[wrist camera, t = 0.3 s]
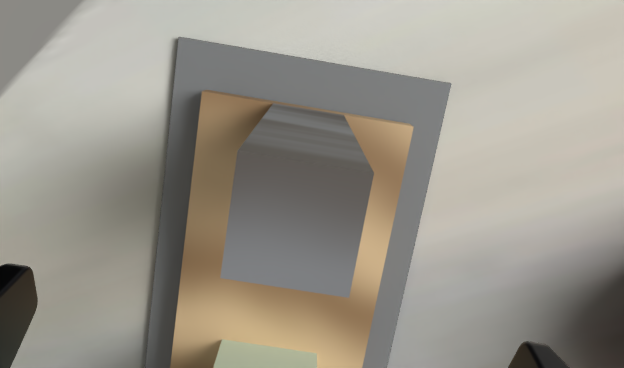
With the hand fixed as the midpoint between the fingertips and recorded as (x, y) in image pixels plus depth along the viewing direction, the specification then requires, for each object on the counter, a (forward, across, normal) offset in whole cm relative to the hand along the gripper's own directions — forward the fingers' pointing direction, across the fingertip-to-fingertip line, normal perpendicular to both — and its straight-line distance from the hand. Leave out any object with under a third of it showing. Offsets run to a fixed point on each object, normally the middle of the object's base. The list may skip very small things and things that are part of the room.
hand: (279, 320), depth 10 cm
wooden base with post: (+12, 0, +10) cm, 16 cm away
